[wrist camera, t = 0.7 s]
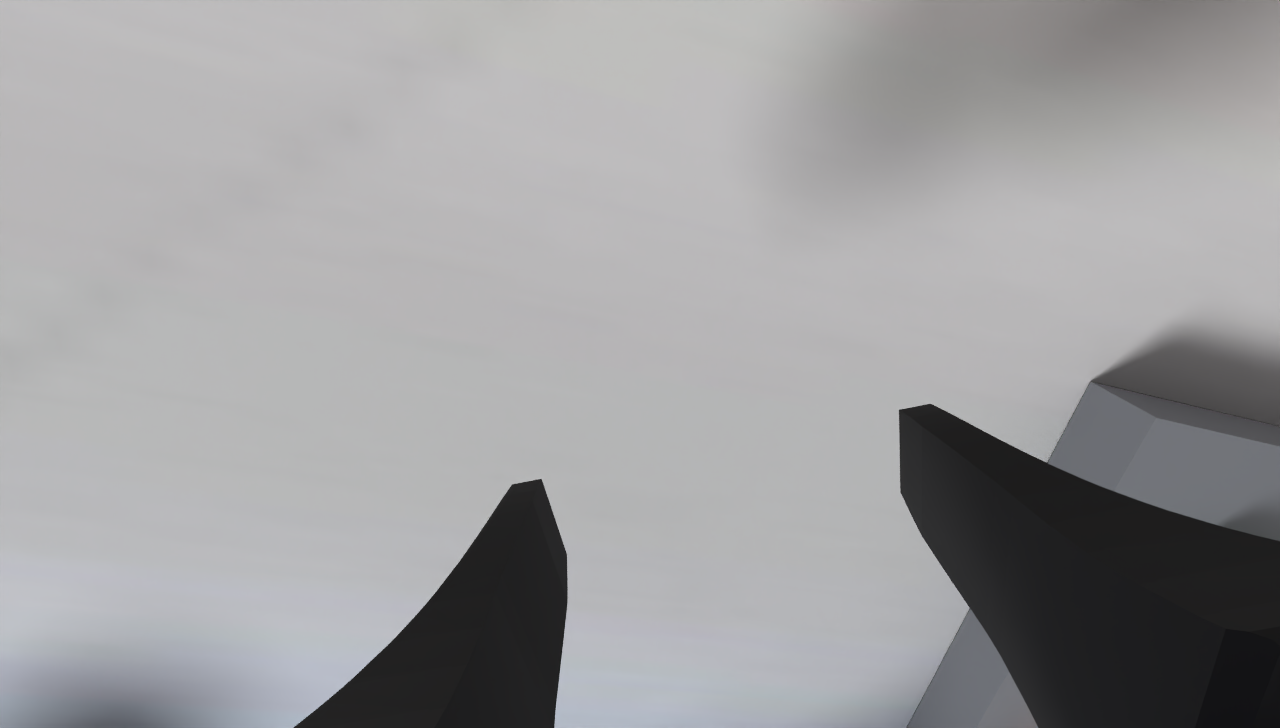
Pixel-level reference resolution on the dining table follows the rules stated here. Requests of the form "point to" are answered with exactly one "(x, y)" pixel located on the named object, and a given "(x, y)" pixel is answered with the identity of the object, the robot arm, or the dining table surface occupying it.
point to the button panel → (1141, 469)
